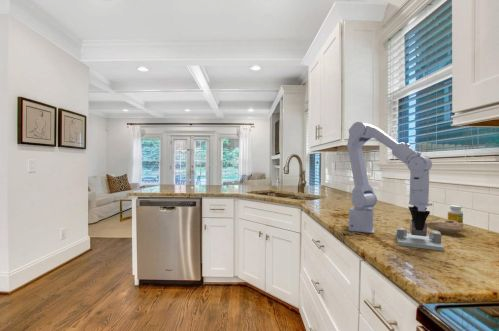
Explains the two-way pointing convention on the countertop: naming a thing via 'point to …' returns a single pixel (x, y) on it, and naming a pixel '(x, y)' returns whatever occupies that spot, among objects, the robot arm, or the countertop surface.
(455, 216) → the supplement bottle
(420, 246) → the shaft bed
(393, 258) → the countertop surface
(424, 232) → the block
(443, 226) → the pottery oil lamp
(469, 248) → the countertop surface
